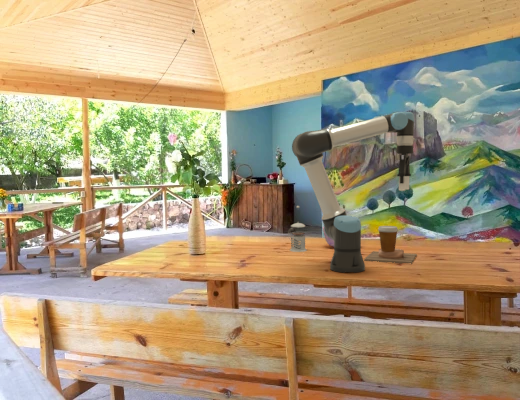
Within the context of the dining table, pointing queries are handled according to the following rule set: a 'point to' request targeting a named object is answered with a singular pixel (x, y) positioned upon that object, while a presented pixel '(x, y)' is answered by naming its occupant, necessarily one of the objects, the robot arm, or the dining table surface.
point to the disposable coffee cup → (388, 238)
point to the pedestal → (391, 256)
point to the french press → (297, 238)
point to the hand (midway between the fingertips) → (404, 190)
